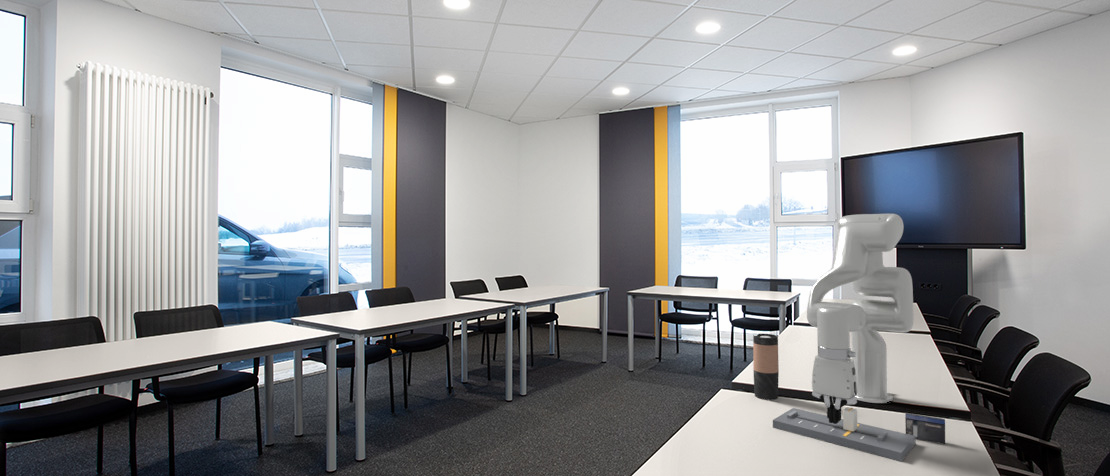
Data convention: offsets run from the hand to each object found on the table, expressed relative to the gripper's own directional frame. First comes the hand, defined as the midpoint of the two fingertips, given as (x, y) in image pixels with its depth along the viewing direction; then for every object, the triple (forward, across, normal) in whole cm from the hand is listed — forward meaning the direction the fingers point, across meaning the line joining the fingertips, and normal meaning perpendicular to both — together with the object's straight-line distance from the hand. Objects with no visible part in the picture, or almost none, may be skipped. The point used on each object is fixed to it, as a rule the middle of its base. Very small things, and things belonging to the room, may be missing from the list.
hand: (834, 422), depth 135 cm
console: (+3, -2, 0) cm, 3 cm away
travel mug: (+3, +26, -18) cm, 32 cm away
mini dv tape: (+3, -18, -12) cm, 22 cm away
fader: (+1, -4, 0) cm, 4 cm away
